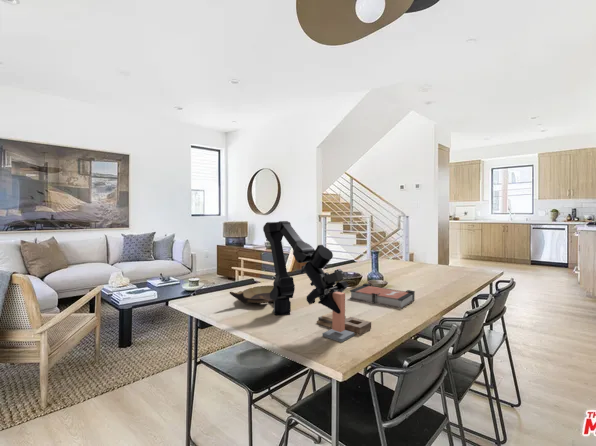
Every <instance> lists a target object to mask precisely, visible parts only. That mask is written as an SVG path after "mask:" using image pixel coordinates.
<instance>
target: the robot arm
mask: <svg viewBox="0 0 596 446" xmlns="http://www.w3.org/2000/svg"><path fill="white" fill-rule="evenodd" d="M262 229H263V233H264V237H265V239H266V240H267V241H268V243H269V244H270V250H271V256H272V260H273V261H272V262H273V267H274V273H275V277H274V280H273V283H272V284H273V285H272V286H274V288H273V289H272V291H271V292H270V298H271V299H273V300H274V301H273V309H272V312H273V314H274V315H275V316H282V315H291V310H292V309H291V306H292V305H291V301H290V299H292V298H294V294H295V283H294V277H293V276H290V275H289V273H288V269H287V266H286V259H285V253H284V247H283V242H282V240H283V238H284V239H285V240H286V241H287V242H288V245H290V247H291V248H292V255H293V257H294V259H295V261H296V262H297V264H302V263H305V264H304V265H301V270H300V274H302V275H303V274H305V275H307V276H308V278H309V280H310V281H311V282H310V284H309V285H310V286H314V288H313V289H312V290H311V291H310V292H309V293H308V295H307V296H306V302H307V303H308V305H313V304H315V303H316V299H317V298H318V299H319V300H318V302H317V303H318V304H321V305H322V306H324V307H326V308H327V309H329V310H331V311H332V312H333V311H335V312H336V313H338V314H339V313H340V312H341V311H340V309H339V307H338V306H337V304H336V302H335V301H334V299H333V293H334V292H342V293H344V291H346V289H347V288H348V287H349V286H350V284H349V283H348V282H347V281H346V280H344V277H345V272H344V271H343V270H342V269H341V268H338V269H335V270H334V272H331V273H329V272H324V270H323V269H324V268H326V266H327V265H328V264H329V263H330V261H331V260H332V259H333V257H334V254H333V252H332V250H331V249H330V248H328V247H326V246H324V244H318V245H317V246H316V249H315V248H314V247H313V246H312V245H311V244H309V243H308V242H305V241H304V240H303V239H302V238H301V236H299V234H298V233H297V231H296V230H295V228H294V227H292V224H291V222H290V221H288V220H280V221H272V222H271V221H267V222H266V223H265V224H264V225H263V227H262Z"/></svg>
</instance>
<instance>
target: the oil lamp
mask: <svg viewBox="0 0 596 446" xmlns="http://www.w3.org/2000/svg"><path fill="white" fill-rule="evenodd" d="M273 288H274V285H259V286H253V287H249V288H246V289H244V290H242V291H237V292H233V291H229V294H230V295H231V296H232V297H233V298H235V299H236V300H237V301H240V303H242V304H246V303H252V304H268V303H272V302H273V303H274V300H273V299H271V298H270V292H271V291H272V289H273Z"/></svg>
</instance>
